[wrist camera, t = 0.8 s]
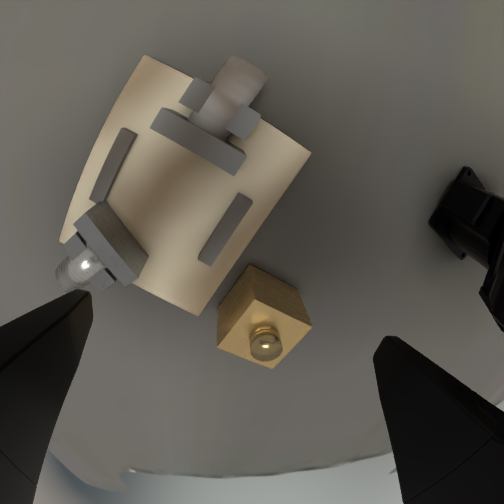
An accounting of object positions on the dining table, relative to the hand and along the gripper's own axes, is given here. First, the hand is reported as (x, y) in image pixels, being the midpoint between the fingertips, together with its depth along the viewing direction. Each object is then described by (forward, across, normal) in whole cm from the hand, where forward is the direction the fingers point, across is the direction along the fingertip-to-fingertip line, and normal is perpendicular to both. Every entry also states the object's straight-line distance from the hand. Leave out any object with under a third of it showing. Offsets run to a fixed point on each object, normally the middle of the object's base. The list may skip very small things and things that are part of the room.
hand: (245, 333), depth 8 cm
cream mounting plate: (+12, +4, 0) cm, 13 cm away
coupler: (+13, -3, +7) cm, 15 cm away
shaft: (+11, +9, +5) cm, 15 cm away
